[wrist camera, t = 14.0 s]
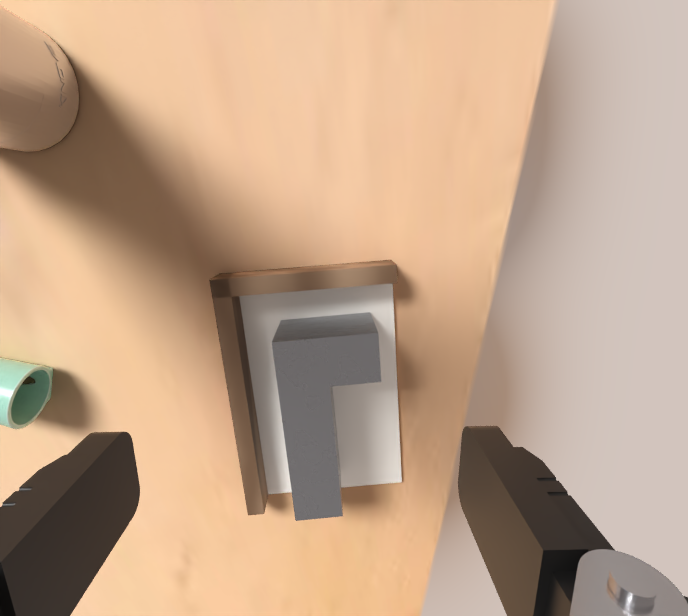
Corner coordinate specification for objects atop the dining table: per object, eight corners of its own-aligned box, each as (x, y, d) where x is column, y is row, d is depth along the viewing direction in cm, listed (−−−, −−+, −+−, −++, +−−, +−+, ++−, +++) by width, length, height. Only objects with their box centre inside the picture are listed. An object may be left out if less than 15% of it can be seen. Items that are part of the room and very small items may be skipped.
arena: (253, 492, 40) (248, 515, 37) (219, 273, 34) (209, 279, 32) (401, 479, 40) (406, 500, 37) (390, 259, 35) (396, 264, 32)
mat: (268, 491, 40) (268, 494, 40) (239, 289, 35) (238, 290, 34) (401, 479, 40) (401, 482, 40) (391, 276, 35) (392, 277, 35)
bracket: (280, 320, 35) (271, 342, 30) (370, 312, 35) (378, 332, 30) (300, 474, 39) (295, 520, 34) (380, 466, 39) (389, 511, 34)
